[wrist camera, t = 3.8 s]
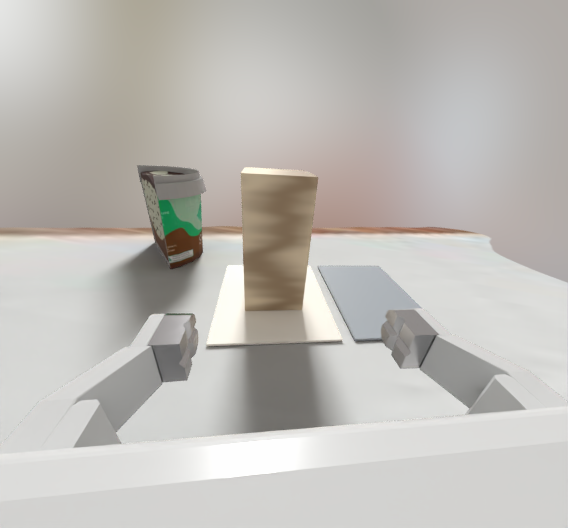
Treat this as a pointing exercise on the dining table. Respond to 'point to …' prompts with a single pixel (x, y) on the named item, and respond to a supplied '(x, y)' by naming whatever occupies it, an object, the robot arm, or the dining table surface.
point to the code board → (309, 309)
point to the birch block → (276, 236)
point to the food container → (174, 211)
